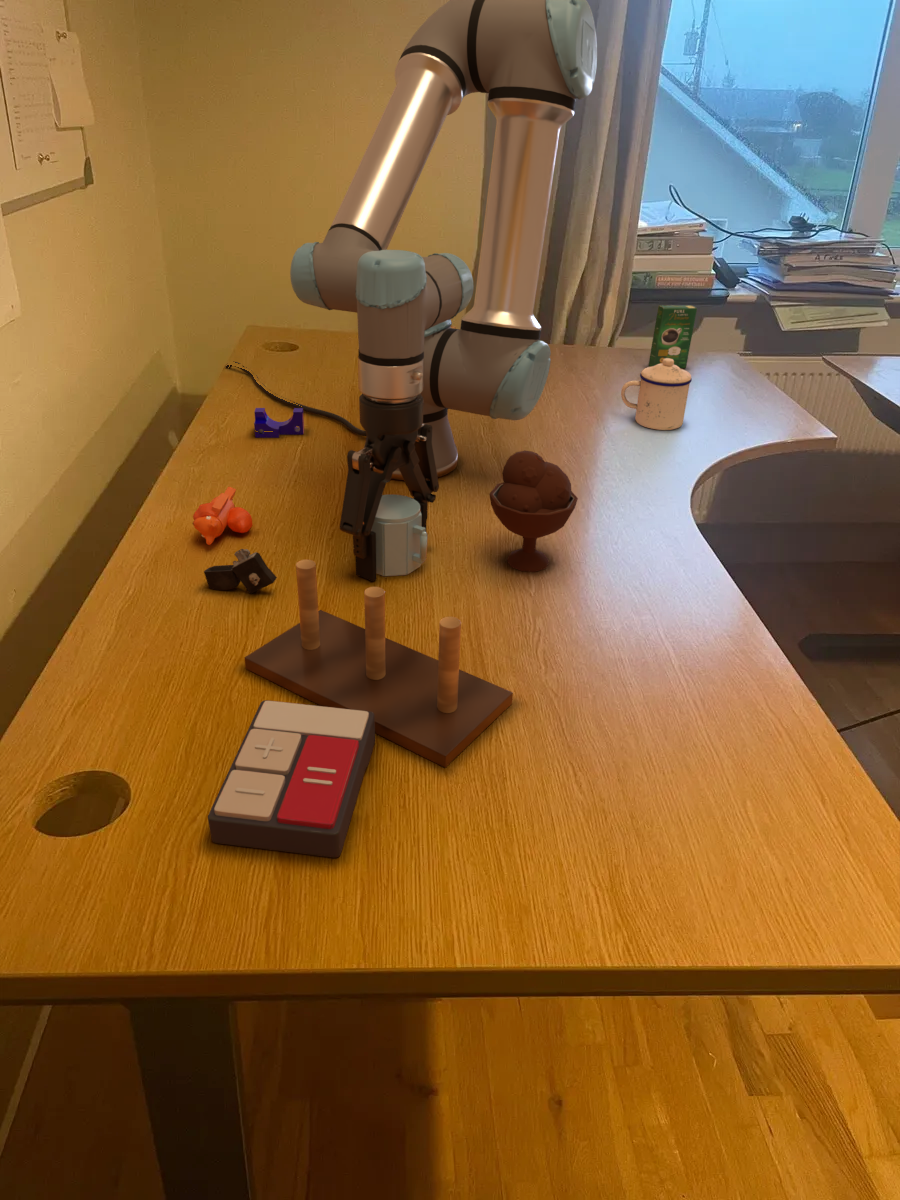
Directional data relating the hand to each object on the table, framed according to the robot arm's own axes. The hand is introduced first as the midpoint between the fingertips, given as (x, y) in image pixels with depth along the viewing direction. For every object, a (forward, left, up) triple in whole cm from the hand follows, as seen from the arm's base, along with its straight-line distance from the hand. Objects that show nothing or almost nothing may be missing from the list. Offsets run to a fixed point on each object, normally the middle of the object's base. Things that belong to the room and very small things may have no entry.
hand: (391, 560), depth 115 cm
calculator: (+19, -38, 0) cm, 42 cm away
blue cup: (0, 0, 0) cm, 0 cm away
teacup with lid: (+5, +71, 0) cm, 71 cm away
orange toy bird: (-23, -7, 0) cm, 24 cm away
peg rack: (+15, -22, 0) cm, 27 cm away
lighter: (-10, -17, 0) cm, 20 cm away
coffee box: (-6, +105, 0) cm, 105 cm away
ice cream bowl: (+14, +11, 0) cm, 18 cm away
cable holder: (-43, +24, 0) cm, 49 cm away
